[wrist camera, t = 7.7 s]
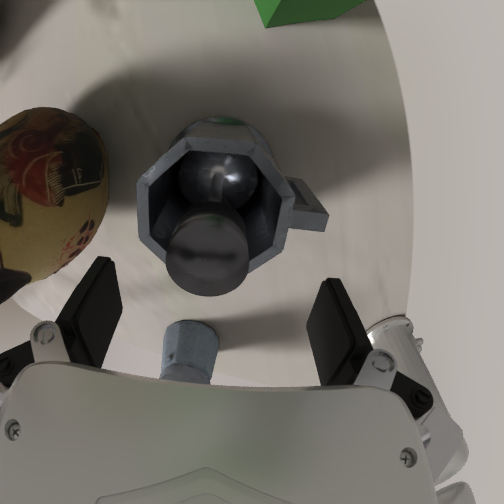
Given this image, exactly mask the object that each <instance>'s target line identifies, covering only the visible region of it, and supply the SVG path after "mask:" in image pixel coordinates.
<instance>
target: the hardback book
mask: <svg viewBox="0 0 504 504" xmlns="http://www.w3.org/2000/svg"><path fill="white" fill-rule="evenodd" d="M364 1H366V0H254V2H255V4H256V6H257V9H258V11H259V14H260V16H261V19H262V21H263V24H264V27H265V28H270V27H275V26H280V25H286V24H292V23H299V22H307V21H316V20H327V19H335V18H336V17H338V16H340V15H341V14H343V13H345V12H346V11H348V10H350V9H351V8H353V7H355V6H357V5H359V4H360V3H362V2H364Z"/></svg>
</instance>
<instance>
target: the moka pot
mask: <svg viewBox="0 0 504 504" xmlns="http://www.w3.org/2000/svg"><path fill="white" fill-rule="evenodd" d="M218 348H219V339H218V337H217V335H216V333H215V332H214V331H213V330H212V329H211V328H210V327H207V326H206V325H204V324H203V323H199V322H196V321H186V320H185V321H179V322H176V323H173V324H171V325H170V326H168V327H167V329H166V332H165V336H164V342H163V354H162V367H161V374H160V378H159V379H163V380H170V381H178V382H187V383H197V384H208V385H210V379H211V377H212V373H213V369H214V364H215V360H216V356H217V352H218Z"/></svg>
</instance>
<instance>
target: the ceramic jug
mask: <svg viewBox="0 0 504 504" xmlns="http://www.w3.org/2000/svg"><path fill="white" fill-rule="evenodd" d="M108 198H109V172H108V158H107V154H106V151H105V148H104V144H103V142H102V140H101V139H100V136H99V133H98V132H97V131H96V130H95V129H94V128H90V127H89V126H88V125H87V123H86V122H85V121H83V120H82V119H81V118H79V117H78V116H76V115H75V114H72V113H69V112H66V111H64V110H61V109H58V108H50V107H38V108H32V109H29V110H24V111H22V112H20V113H18V114H16V115H14V116H12V117H11V118H9V119H8V120H6V121H5V122H3V123H2V124H0V304H1V303H3V302H5V301H6V300H7V299H9V298H10V297H11V296H12V295H14V294H15V293H16V292H17V291H18V290H19V289H21V288H22V287H24V286H25V285H29V284H31V283H34V282H36V281H39V280H43V279H45V278H47V277H49V276H50V275H52V274H54V273H56V272H58V271H59V270H60V269H61V268H63V267H65V266H66V265H68V264H69V262H71V261H72V260H73V259H74V258H75V257H76V256H78V255H79V254H80V253H81V252H82V251H83V250H84V249H85V247H86V246H87V245H88V244H89V243H90V242H91V240H92V239H93V237H94V235H95V234H96V232H97V230H98V228H99V226H100V224H101V222H102V220H103V217H104V215H105V212H106V208H107V204H108Z"/></svg>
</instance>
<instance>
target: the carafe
mask: <svg viewBox="0 0 504 504" xmlns="http://www.w3.org/2000/svg"><path fill="white" fill-rule="evenodd" d="M190 150H193V151H207V152H219V153H229V154H239V155H248V156H250V158H251V159H252V160H253V161H254V163H255V166H256V169H257V184H256V187H255V190H254V192H253V194H252V196H251V197H250V199H249V200H248V201H247V202H246V203H245V204H244V205H242V206H241V207H239V208H238V209H235V211H236V212H237V213H238V214H239V215H240V216H241V218H242V220H243V222H244V224H245V228H246V236H247V245H248V254H249V270H248V273H250V272H252V271H253V270H255V269H256V268H258V267H259V266H261V265H262V264H264V263H266V262H267V261H269V260H270V259H272V258H273V257H275V256H276V255H278V254H279V253H281V252H282V250H283V249H284V245H285V241H286V236H287V232H288V228H292V229H301V230H310V231H319V232H324V231H325V228H326V224H327V221H328V217H329V214H328V212H327V211H326V210H325V208H324V207H323V206H322V204H321V203H320V202H319V200H318V199H317V198H316V196H315V195H314V194H313V193H312V191H311V190H310V189H309V187H308V186H307V185H306V183H305V182H304V181H303V180H302V179H298V178H292V177H285V176H283V174H282V172H281V171H280V169H279V168H278V166H277V164H276V163H275V161H274V160H273V156H272V152H271V150H270V148H269V146H268V144H267V142H266V141H265V139H264V138H263V137H262V135H261V134H260V133H259V132H258V131H257V130H256V129H255V128H253V127H252V126H251V125H249V124H247V123H246V122H244V121H241V120H239V119H236V118H232V117H226V116H216V117H209V118H205V119H202V120H199V121H197V122H195V123H193V124H192V125H190V126H189V127H187V128H186V129H185V130H183V131H182V132H181V133H180V134H179V135H178V136H177V137H176V139H175V140H174V141H173V143H172V144H171V146H170V148H169V150H168V151H167V152H166V153H165V154H164V155H163V156H162V157H160V158H159V159H158V160H157V161H156V162H155V163H154V164H153V165H152V166H151V167H150V168H149V169H148V170H147V171H146V172H145V173H144V174H143V175H142V176H141V177H140V178H139V179H138V180H137V182H136V193H137V218H138V234H139V238H140V241H141V242H142V243H143V244H144V245H146V246H147V247H148V248H149V249H150V250H151V251H152V252H153V253H154V254H155V255H156V256H157V257H158V258H160V259H161V260H162V261H163V262H164V263H165V264H166V262H165V260H166V252H167V249H168V246H169V244H170V241H171V238H172V235H173V232H174V230H175V227H176V224H177V221H178V219H179V217H180V216H181V214H182V213H183V212H184V211H185V210H186V209H187V208H189V207H190V206H192V205H193V204H191V203H190V202H189V201H188V199H187V198H186V197H185V195H184V194H183V191H182V189H181V186H180V181H179V173H180V168H181V165H182V162H183V160H184V158H185V157H186V155H187V154H188V153H189V152H190ZM294 203H295V204H294ZM248 273H247V274H248Z"/></svg>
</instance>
